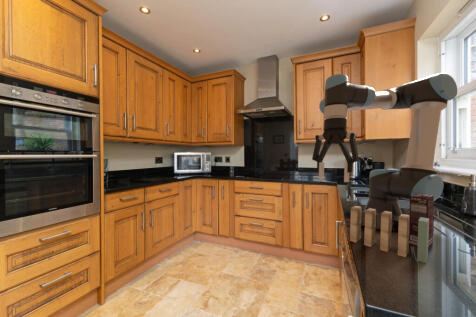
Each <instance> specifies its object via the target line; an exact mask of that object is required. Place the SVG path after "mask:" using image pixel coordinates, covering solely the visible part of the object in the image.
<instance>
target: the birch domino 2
mask: <svg viewBox="0 0 476 317" xmlns="http://www.w3.org/2000/svg"><path fill="white" fill-rule="evenodd" d="M375 227H376V209H371V208H369V209H367V210H365V227H364V238H363V239H364V240H363V242H364V243H363V244H364V245H363V246H367V247H370V248H371V247H372V246H374V244H376V229H375Z"/></svg>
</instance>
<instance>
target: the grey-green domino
mask: <svg viewBox="0 0 476 317" xmlns="http://www.w3.org/2000/svg"><path fill="white" fill-rule="evenodd" d="M428 237H429V218H423V217H420V219H419V220H418V245H417V255H416V256H417V257H416V261H417V262H421V263H424V264H427V262H428V258H429V246H428Z"/></svg>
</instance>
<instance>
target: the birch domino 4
mask: <svg viewBox="0 0 476 317" xmlns="http://www.w3.org/2000/svg"><path fill="white" fill-rule="evenodd" d="M409 217H410V215H409V214H405V213H402V214H401V215H400V216H399V221H398V229H397V230H398V232H397V237H398V239H397V256H400V257H403V258H407V256H408V254H409V249H410V248H409V245H410V243H409Z"/></svg>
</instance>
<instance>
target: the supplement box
mask: <svg viewBox="0 0 476 317" xmlns="http://www.w3.org/2000/svg"><path fill="white" fill-rule="evenodd" d="M433 200H434V196H433V195H426V194H414V195H411V196H410V200H409V213H408V215H410V217H409V244H410V245H411V244H412V245H413V246H418V220H419V219H420V217H423V218H429V237H428V247H430V245H431V244H433V242H434V201H433Z"/></svg>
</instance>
